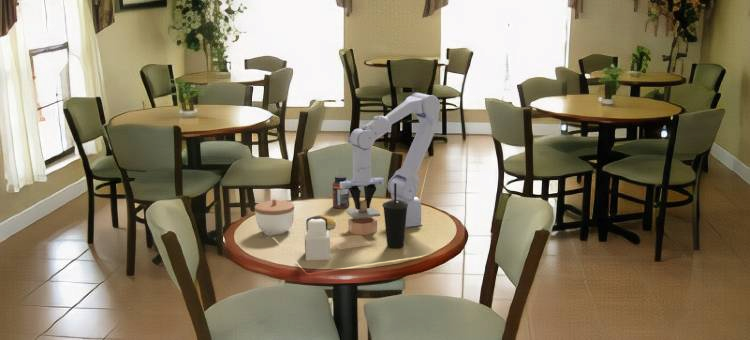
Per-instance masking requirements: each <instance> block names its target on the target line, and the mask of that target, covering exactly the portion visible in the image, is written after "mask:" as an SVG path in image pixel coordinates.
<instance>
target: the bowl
mask: <svg viewBox="0 0 750 340" xmlns="http://www.w3.org/2000/svg"><path fill="white" fill-rule="evenodd" d="M347 223H348V226H347V228H348V229H347V230H348V232H349V233H351V234H352V235H353V234H354V235H361V236H364V235H365V236H366V235H373V234H375V233H376V232H377V231H378V219H377V218H375V217H365V218H354V219H353V218H352V217H350V218H349V219H348V220H347Z"/></svg>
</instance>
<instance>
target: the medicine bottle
mask: <svg viewBox="0 0 750 340" xmlns="http://www.w3.org/2000/svg"><path fill="white" fill-rule="evenodd" d="M305 221H306V230H305V231H304V253H305V254H304V256H305V261H322V260H323V261H325V260H326V261H327V260H329V261H330V260H331V242H330V238H331V237H330V236H331V235H330V230H327V219H326V218H324V217H320V216H317V215H314V216H310V217H308V218H307V219H306V220H305Z"/></svg>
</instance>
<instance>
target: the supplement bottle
mask: <svg viewBox="0 0 750 340" xmlns="http://www.w3.org/2000/svg"><path fill="white" fill-rule="evenodd" d="M343 181H347V176H346V175H345V174H337V175H335V176H334V181H333V182H332V206H333V208H336V209H346V208H349V206H350V191H349V189H348V188H345V189H341V188H340V182H343Z"/></svg>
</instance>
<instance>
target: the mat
mask: <svg viewBox="0 0 750 340" xmlns="http://www.w3.org/2000/svg"><path fill="white" fill-rule="evenodd" d="M330 244H332V245H333V246H334V247H335V248H336V249H337V250H339V251H340V250H347V249H355V248H358V247H359V248H360V247H368V246H373V243H371V242H370V241H369V240H367V239H366V238H365V237H364V236H363V235H358V234H354V235H353V234H352V235H347V236H340V237H339V236H338V237H330Z"/></svg>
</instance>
